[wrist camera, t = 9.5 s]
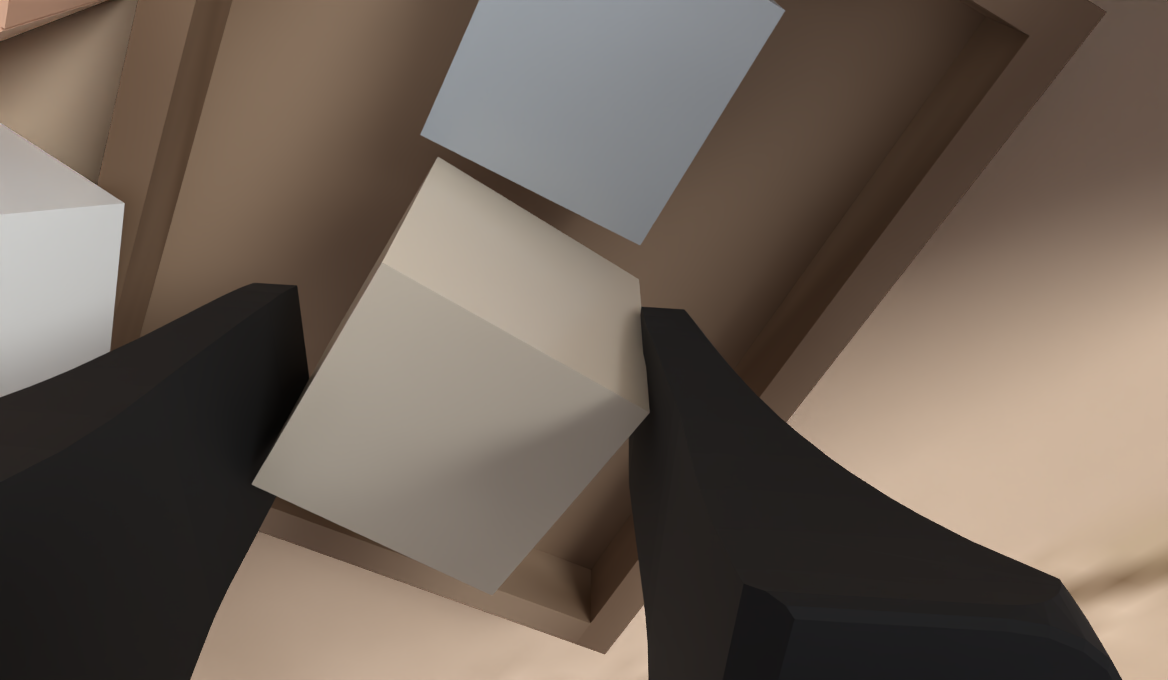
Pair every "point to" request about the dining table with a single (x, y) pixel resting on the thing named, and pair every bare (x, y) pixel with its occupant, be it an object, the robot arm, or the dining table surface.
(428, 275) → the beige block
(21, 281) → the white block
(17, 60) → the dining table surface
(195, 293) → the walnut tray
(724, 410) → the robot arm
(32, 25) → the terracotta bowl
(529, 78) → the blue-grey block
